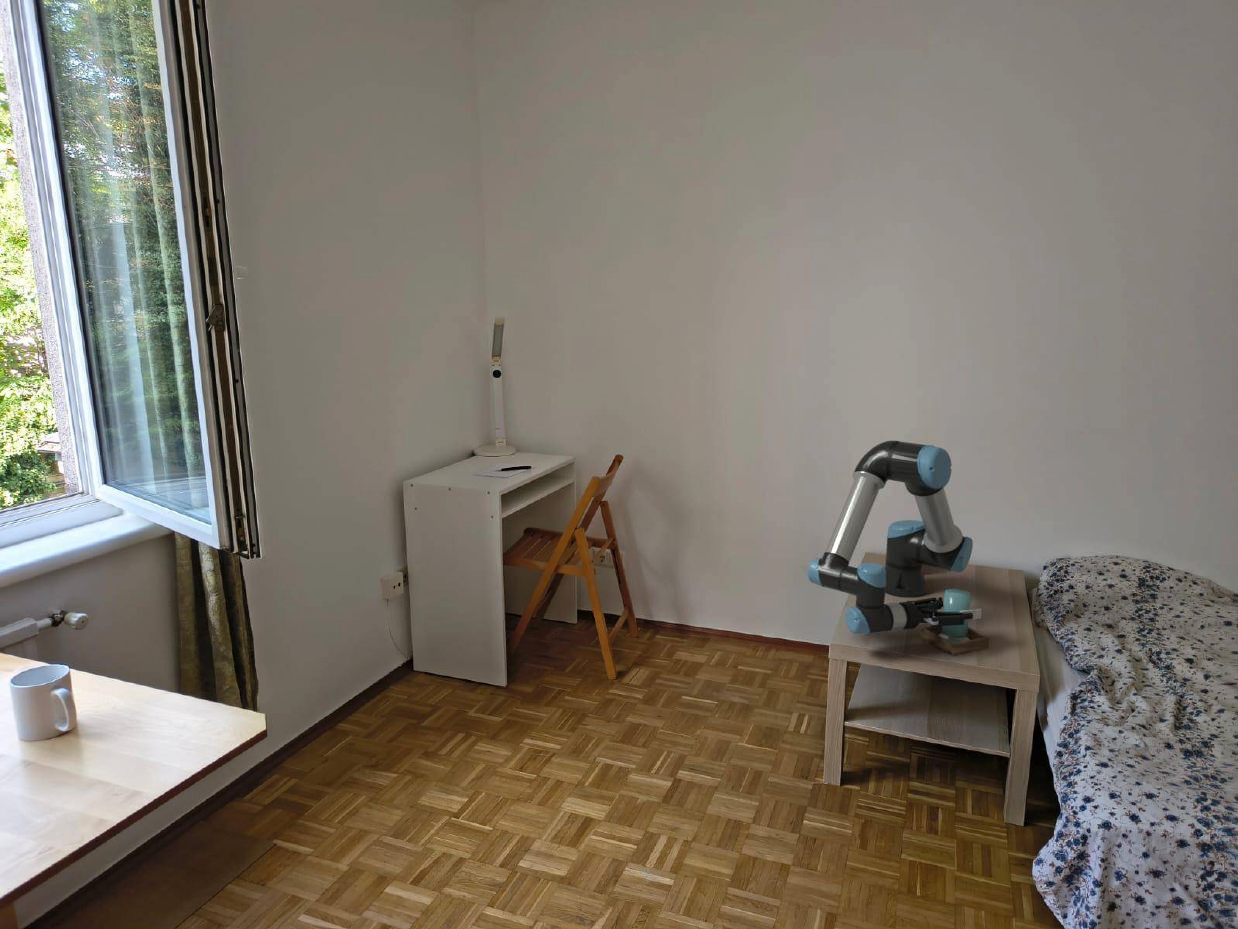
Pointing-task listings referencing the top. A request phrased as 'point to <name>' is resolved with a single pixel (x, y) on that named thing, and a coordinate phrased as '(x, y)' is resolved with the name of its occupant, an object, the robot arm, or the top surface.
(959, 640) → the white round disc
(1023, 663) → the top surface
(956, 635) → the teal cylinder
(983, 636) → the walnut tray
